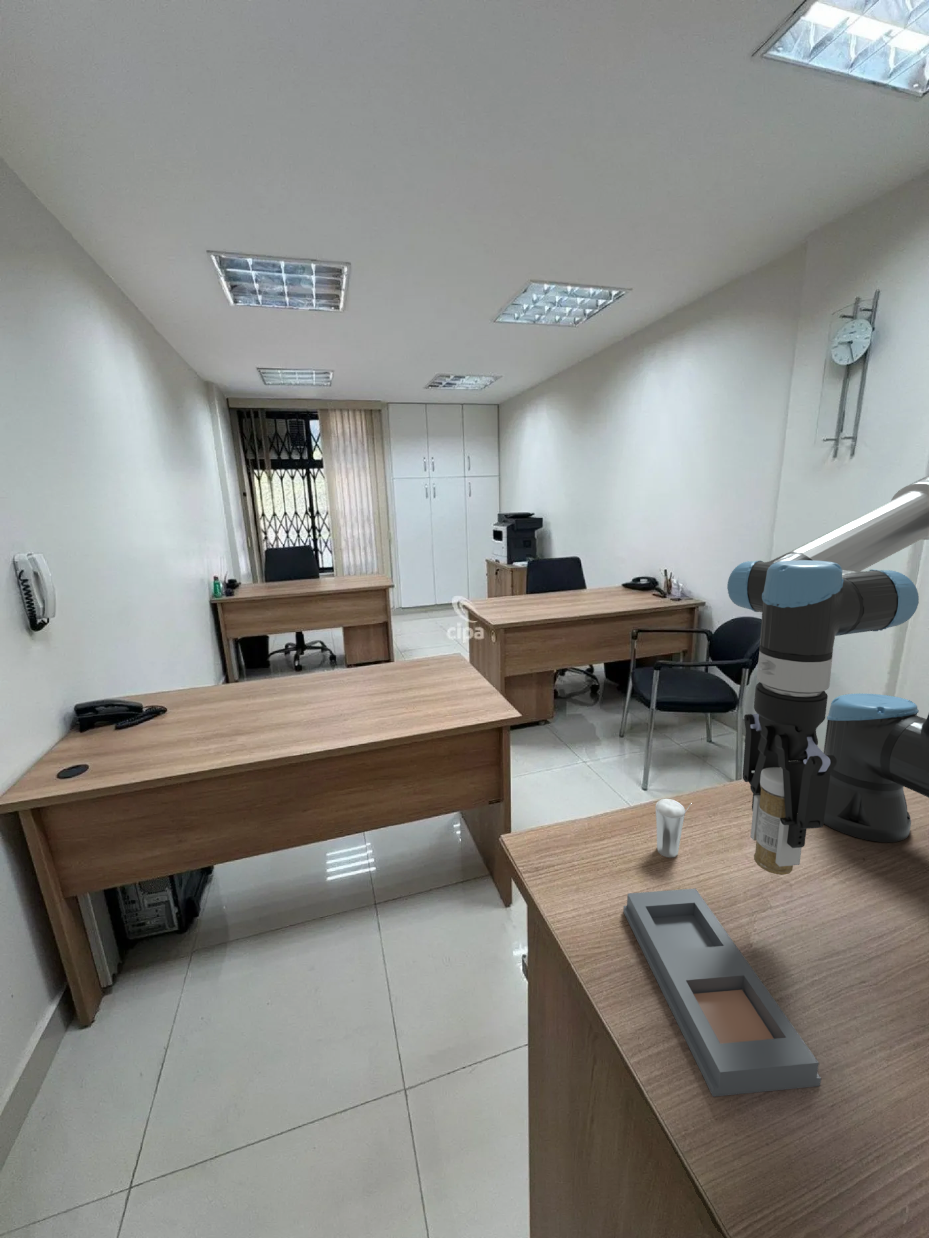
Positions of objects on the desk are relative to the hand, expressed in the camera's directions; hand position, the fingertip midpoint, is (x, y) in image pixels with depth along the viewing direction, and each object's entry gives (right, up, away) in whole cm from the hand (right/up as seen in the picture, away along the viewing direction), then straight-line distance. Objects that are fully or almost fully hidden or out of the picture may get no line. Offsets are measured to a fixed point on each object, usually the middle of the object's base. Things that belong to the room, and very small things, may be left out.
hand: (773, 850), depth 66 cm
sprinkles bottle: (0, -2, +1) cm, 2 cm away
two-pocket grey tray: (-13, -13, -6) cm, 19 cm away
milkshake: (-7, -8, +17) cm, 20 cm away
